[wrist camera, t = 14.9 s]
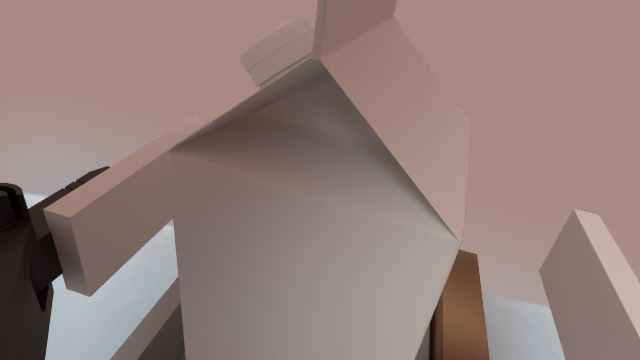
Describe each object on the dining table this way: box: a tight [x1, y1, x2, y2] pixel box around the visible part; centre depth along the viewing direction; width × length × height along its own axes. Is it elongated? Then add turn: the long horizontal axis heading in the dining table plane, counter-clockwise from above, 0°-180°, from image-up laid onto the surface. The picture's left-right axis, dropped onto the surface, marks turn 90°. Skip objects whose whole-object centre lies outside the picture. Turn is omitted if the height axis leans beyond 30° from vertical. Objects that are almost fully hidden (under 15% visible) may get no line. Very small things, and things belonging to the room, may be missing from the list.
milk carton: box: [168, 0, 471, 360], centre depth 14 cm, size 7×7×19 cm
